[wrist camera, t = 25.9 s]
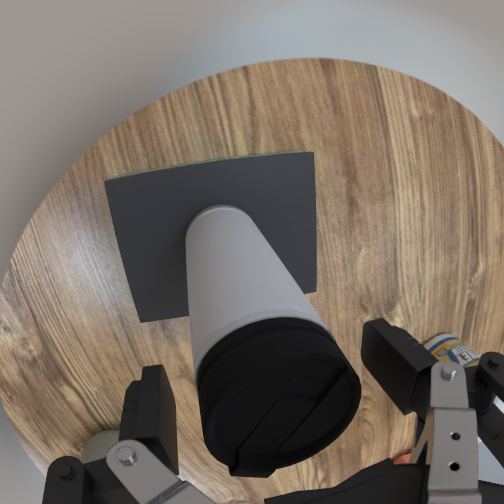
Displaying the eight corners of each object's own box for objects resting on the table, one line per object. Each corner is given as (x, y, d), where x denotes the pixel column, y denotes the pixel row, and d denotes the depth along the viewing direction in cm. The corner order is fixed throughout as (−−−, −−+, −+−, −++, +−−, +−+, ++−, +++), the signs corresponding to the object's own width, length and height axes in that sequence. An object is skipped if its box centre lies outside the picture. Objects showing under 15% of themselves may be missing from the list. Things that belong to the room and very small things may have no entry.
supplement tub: (462, 325, 44) (529, 376, 28) (440, 381, 47) (494, 435, 32) (413, 337, 41) (486, 403, 26) (391, 397, 45) (445, 465, 29)
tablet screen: (106, 179, 24) (104, 181, 24) (310, 151, 27) (314, 152, 26) (141, 318, 30) (140, 323, 29) (313, 287, 33) (316, 291, 32)
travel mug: (172, 258, 27) (174, 472, 9) (204, 191, 26) (261, 356, 8) (234, 283, 30) (305, 480, 12) (268, 222, 28) (403, 386, 10)
